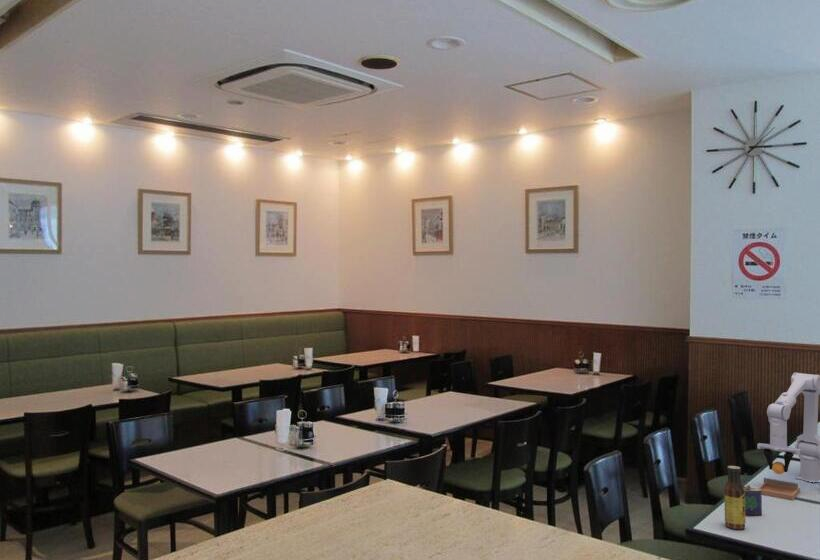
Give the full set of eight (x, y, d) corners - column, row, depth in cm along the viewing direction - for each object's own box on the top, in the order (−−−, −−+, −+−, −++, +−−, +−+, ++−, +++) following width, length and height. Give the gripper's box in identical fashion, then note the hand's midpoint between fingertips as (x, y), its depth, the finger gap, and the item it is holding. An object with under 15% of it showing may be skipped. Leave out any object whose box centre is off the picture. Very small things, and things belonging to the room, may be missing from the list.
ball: (777, 471, 261) (777, 459, 261) (788, 474, 257) (788, 462, 257) (769, 472, 259) (769, 461, 259) (779, 476, 255) (779, 464, 255)
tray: (765, 486, 266) (765, 481, 266) (799, 492, 258) (799, 487, 258) (756, 493, 256) (756, 489, 256) (792, 500, 248) (792, 495, 248)
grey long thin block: (764, 485, 267) (764, 477, 267) (798, 491, 259) (798, 483, 259) (763, 485, 266) (763, 478, 266) (797, 491, 258) (797, 484, 258)
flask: (759, 513, 235) (759, 483, 235) (763, 516, 232) (763, 485, 232) (733, 513, 236) (733, 483, 236) (736, 516, 233) (736, 485, 233)
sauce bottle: (747, 531, 219) (747, 470, 219) (727, 529, 220) (727, 469, 220) (742, 523, 225) (741, 465, 225) (722, 522, 227) (722, 464, 226)
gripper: (755, 434, 260) (755, 468, 260) (797, 439, 250) (797, 476, 250) (760, 430, 265) (760, 465, 265) (801, 436, 256) (801, 472, 256)
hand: (778, 470), depth 258 cm, fingers closed on ball, 5 cm apart
